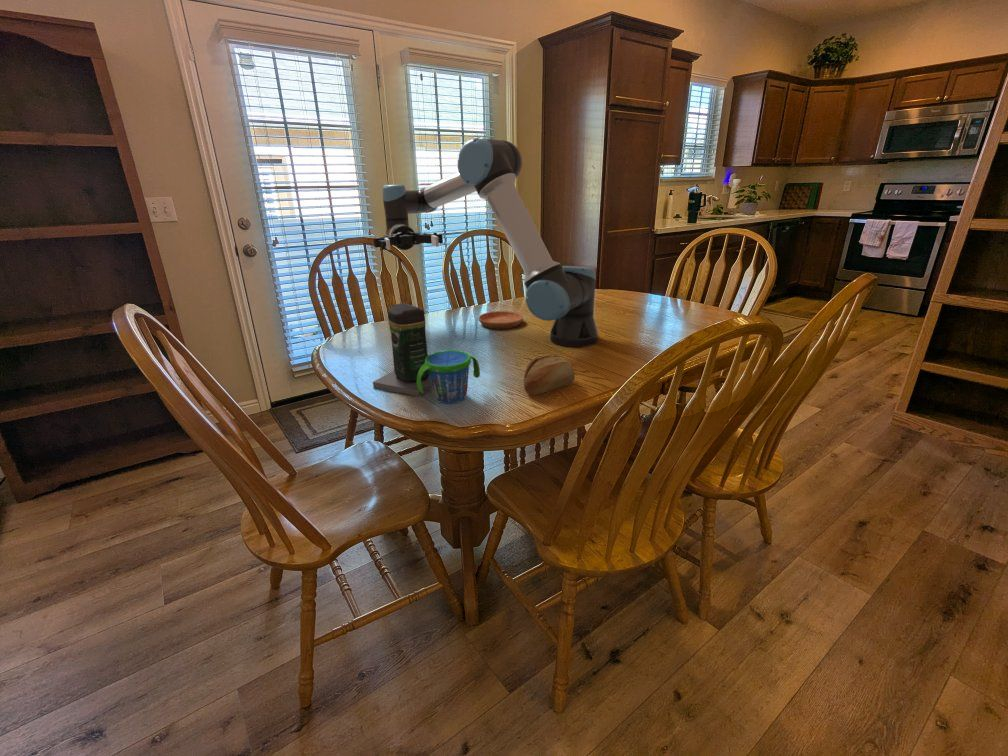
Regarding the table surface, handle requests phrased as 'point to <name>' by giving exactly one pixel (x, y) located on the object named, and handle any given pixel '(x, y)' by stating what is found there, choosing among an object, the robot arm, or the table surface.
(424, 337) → the coffee jar
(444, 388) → the snack cup
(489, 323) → the saucer
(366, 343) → the table surface
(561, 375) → the bread roll
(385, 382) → the stand
